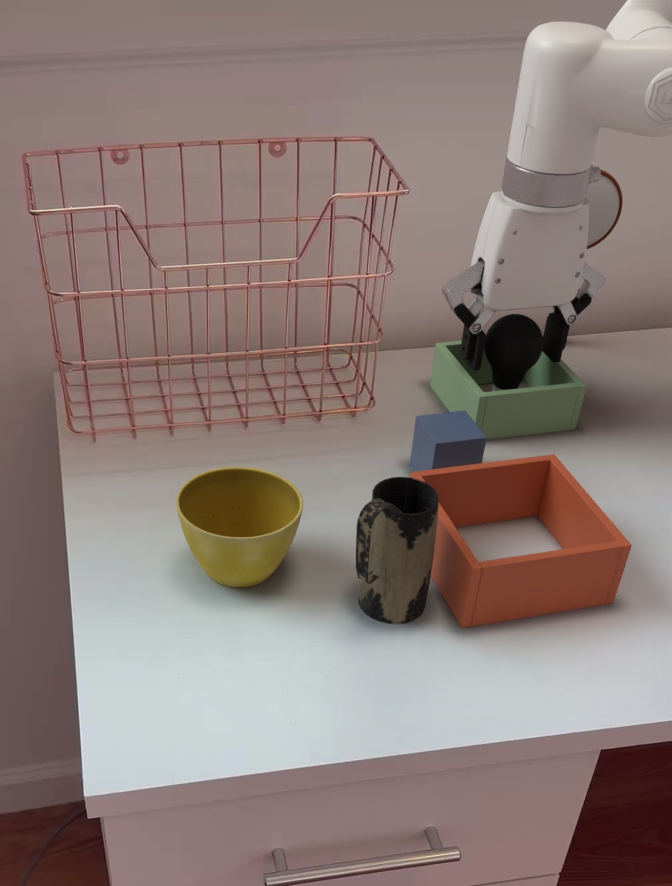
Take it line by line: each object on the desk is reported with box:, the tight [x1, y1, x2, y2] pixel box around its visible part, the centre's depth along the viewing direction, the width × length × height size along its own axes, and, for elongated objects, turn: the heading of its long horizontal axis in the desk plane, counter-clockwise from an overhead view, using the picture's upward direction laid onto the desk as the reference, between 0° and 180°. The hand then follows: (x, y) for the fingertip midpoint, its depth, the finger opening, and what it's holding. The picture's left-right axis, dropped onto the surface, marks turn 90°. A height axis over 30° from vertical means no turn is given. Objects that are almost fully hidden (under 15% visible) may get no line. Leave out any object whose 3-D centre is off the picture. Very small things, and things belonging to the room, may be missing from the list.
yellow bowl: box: [175, 466, 304, 588], centre depth 84 cm, size 10×10×7 cm
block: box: [409, 410, 487, 472], centre depth 96 cm, size 5×5×6 cm
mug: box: [355, 476, 439, 625], centre depth 79 cm, size 8×6×12 cm
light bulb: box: [484, 313, 544, 392], centre depth 105 cm, size 6×6×10 cm
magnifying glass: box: [585, 168, 624, 250], centre depth 114 cm, size 9×2×20 cm, turn 98°
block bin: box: [409, 453, 632, 629], centre depth 86 cm, size 14×14×7 cm
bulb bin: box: [429, 340, 587, 441], centre depth 107 cm, size 12×12×6 cm
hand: (510, 359), depth 105 cm, fingers open, 8 cm apart
